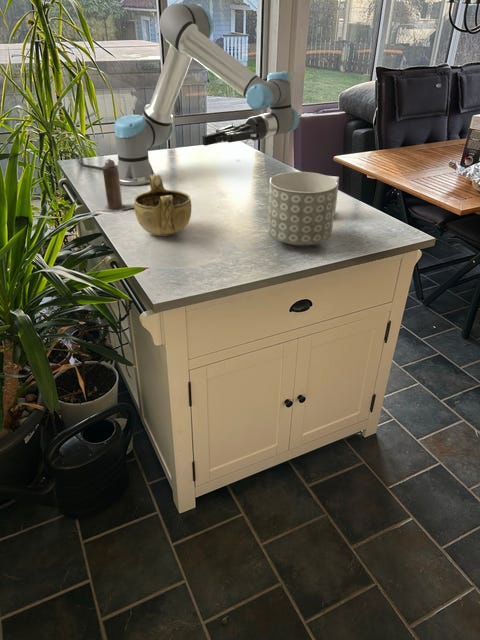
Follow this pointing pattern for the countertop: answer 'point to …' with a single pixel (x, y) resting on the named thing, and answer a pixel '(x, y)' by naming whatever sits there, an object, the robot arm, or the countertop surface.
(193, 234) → the countertop surface
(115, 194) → the pepper mill
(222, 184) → the countertop surface
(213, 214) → the countertop surface
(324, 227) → the planter
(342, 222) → the countertop surface
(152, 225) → the ceramic bowl
